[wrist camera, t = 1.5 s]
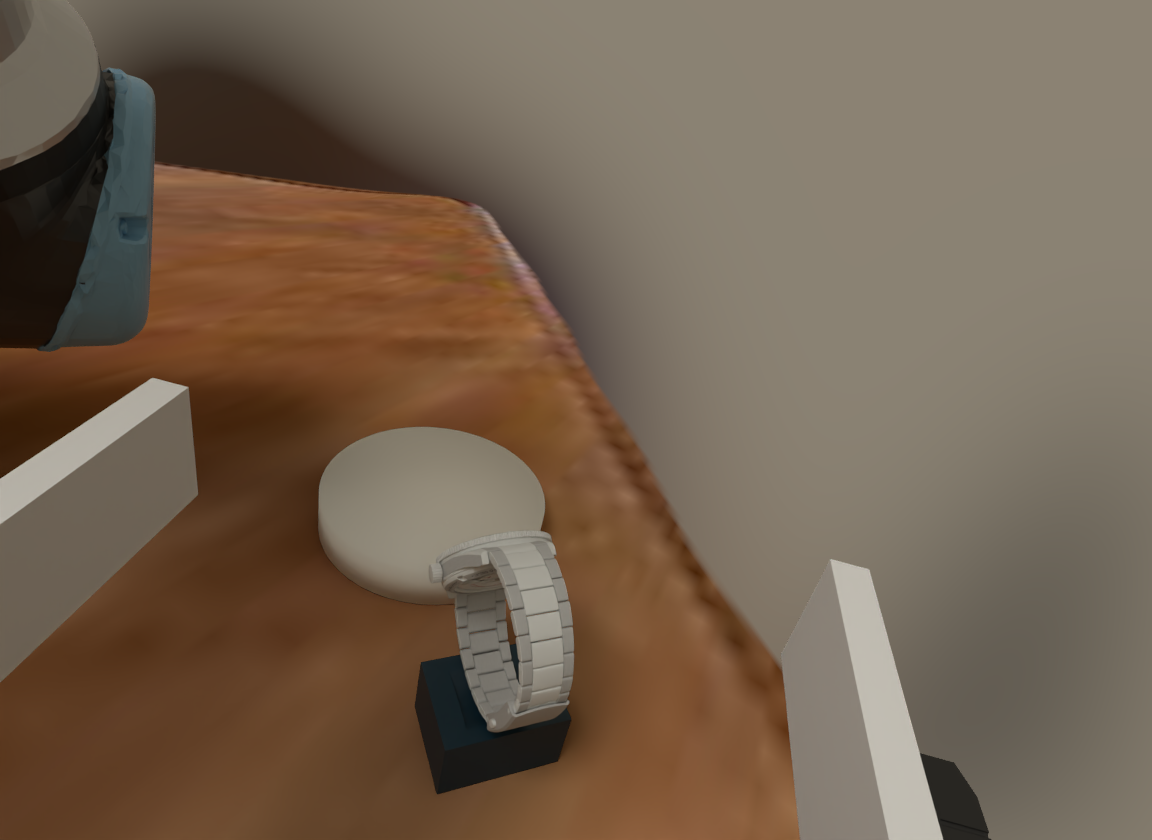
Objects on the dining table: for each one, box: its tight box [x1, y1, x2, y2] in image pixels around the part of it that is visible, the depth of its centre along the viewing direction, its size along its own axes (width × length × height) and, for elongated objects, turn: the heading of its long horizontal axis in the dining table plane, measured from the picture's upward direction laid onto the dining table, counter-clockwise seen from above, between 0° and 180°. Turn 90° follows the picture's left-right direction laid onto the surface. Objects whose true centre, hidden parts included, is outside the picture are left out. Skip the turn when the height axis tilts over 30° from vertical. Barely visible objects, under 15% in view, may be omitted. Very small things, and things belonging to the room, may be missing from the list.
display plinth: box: [318, 427, 545, 605], centre depth 43 cm, size 13×13×2 cm
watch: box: [415, 530, 574, 794], centre depth 30 cm, size 6×8×11 cm
